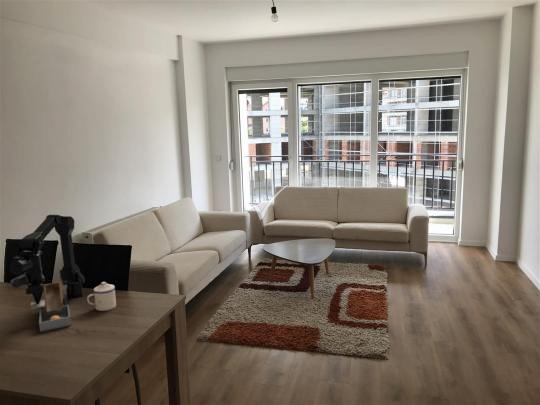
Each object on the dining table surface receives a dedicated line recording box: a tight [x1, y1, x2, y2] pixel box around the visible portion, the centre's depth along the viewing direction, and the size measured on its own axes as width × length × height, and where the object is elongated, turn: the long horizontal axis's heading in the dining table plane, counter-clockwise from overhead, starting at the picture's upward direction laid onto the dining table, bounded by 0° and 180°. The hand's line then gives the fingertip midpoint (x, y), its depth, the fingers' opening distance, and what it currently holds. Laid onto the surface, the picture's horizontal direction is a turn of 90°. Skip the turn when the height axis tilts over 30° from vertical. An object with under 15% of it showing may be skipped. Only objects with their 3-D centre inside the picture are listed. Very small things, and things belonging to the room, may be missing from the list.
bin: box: [38, 304, 72, 333], centre depth 177 cm, size 11×14×4 cm
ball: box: [50, 315, 60, 320], centre depth 173 cm, size 4×4×4 cm
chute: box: [30, 281, 65, 313], centre depth 185 cm, size 12×18×6 cm
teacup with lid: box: [86, 281, 117, 312], centre depth 189 cm, size 12×9×12 cm
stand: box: [40, 293, 68, 310], centre depth 187 cm, size 11×5×7 cm, turn 117°
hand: (37, 303), depth 177 cm, fingers closed
